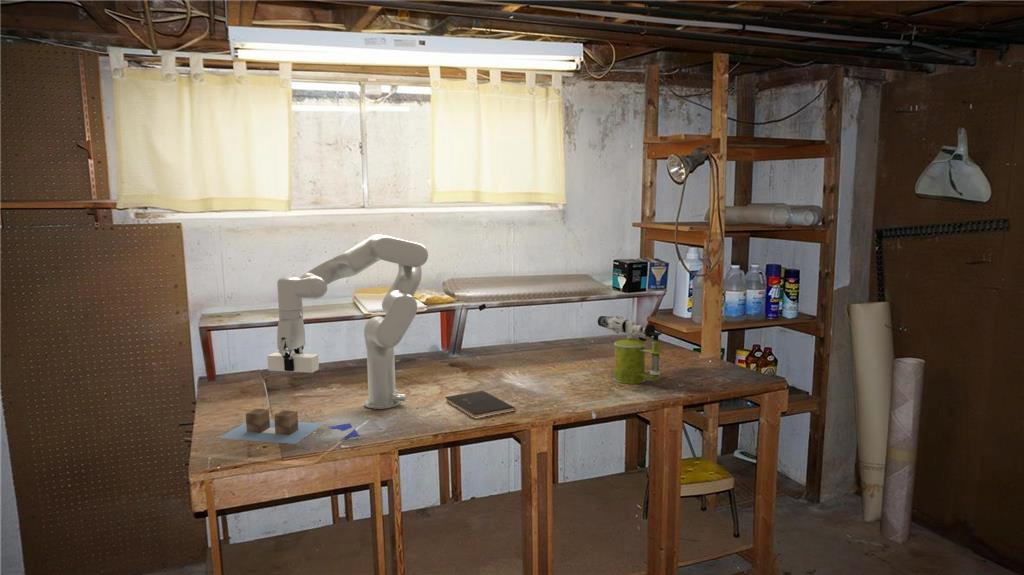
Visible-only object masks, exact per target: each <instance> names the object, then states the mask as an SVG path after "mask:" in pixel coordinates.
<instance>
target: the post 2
mask: <svg viewBox="0 0 1024 575" xmlns="http://www.w3.org/2000/svg"><path fill="white" fill-rule="evenodd" d="M298 414H299V413H298V411H297V410H285V409H283V410H281V411H279V412H278V413H276V414H274V420H275V434H282V435H291V434H292V433H294V432H295V431H297V430H298V422H299V416H298Z"/></svg>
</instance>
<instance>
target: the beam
mask: <svg viewBox="0 0 1024 575" xmlns="http://www.w3.org/2000/svg"><path fill="white" fill-rule="evenodd" d="M287 353H288V354H289V352H287ZM292 359H294V371H288V372H291V373H292V372H293V373H314V372H316V371H319V369H320V366H319V364H320V363H319V354H317V353H316V354H315V353H303V354H294V352H293V354H292ZM267 371H269V372H270V371H273V372H276V371H277V372H286V371H285V370H284V359H283V356H282V355H281V354H280V353H279V352H272V353H271V354H268V355H267Z"/></svg>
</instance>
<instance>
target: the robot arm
mask: <svg viewBox="0 0 1024 575" xmlns="http://www.w3.org/2000/svg"><path fill="white" fill-rule="evenodd" d="M428 259H429V252H428V250H427V248H426V246H424V245H423V244H422V243H418V242H414V241H410V240H406V239H405V240H404V239H401V238H396V237H393V236H390V235H386V234H385V235H384V234H373V235H372V236H370V237H367V238H366V239H365V240H363V241H361V242H360V243H358V244H357V245H354V246H353V247H352V248H349V249H348V250H346V251H344V252H343V253H341V254H338V255H336V256H334V257H333V258H331V259H329V260H326V261H324V262H323V263H320V264H318V265H317V266H315V267H313V268H312V269H310V270H308V271H307V272H305V273H304V274H302V275H301V276H300V277H297V276H284V277H281V278H279V279H278V280H277V282H276V283H277V284H276V285H277V300H278V301H277V303H278V323H277V333H276V335H277V336H276V338H277V339H276V341H277V342H276V344H277V345H276V346H277V350H278V353H280V354H281V355H282V356H283V359H284V370H285V371H284V372H289V371H294V359H292V354H293V353H294V354H304V352H303V350H304V347H305V345H306V332H305V324H304V310H303V299H307V300H308V299H311V300H314V299H315V300H317V299H321V298H323V297H324V296H325V294H326V293H327V291H328V285H330V284H331V283H333V282H335V281H338V280H341V279H346V278H351V277H354V276H356V275H358V274H360V273H361V272H363V271H364V270H366V269H368V268H369V267H371V266H372V265H374V264H375V263H376V264H377V262H380V260H381V261H385V262H387V263H388V262H389V263H393V264H397V265H398V272H397V275H396V277H395V279H394V281H393V283H392V284H391V286H390V287H389V289H388V291H387V293H386V295H385V296H384V297H383V300H382V303H381V308H382V310H383V313H385V316H373V317H371V318H370V319H368V320H367V322H366V324H365V326H364V329H363V331H364V332H363V333H364V334H363V335H364V336H363V337H364V342H365V348H366V366H367V385H368V386H367V388H368V389H367V390H368V398H367V399H366V400H364V406H365V407H366V408H368V409H372V408H373V410H374V409H375V410H383V409H385V410H386V409H390V408H395V407H397V406H399V405H400V404H401V402H406V401H407V395H406V394H400V393H399V390H398V389H396V371H395V369H396V367H395V361H396V360H395V351H394V350H395V349H394V347H396V346H397V345H398V344H400V342H402V340H403V338H404V337H405V335H406V333H407V331H408V330H409V328H410V326H411V325H412V322H413V321H414V319H415V318H416V314H417V312H418V303H417V301H416V300H417V299H415V297H414V296H415V294H416V292H417V290H418V288H419V287H420V283H421V280H422V274H423V272H422V270H423V269H422V267H423V265H425V264H426V263H427V261H428ZM288 353H289V354H288Z"/></svg>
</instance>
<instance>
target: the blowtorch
mask: <svg viewBox="0 0 1024 575" xmlns="http://www.w3.org/2000/svg"><path fill="white" fill-rule="evenodd" d="M597 324H598V326H599V327H602V328H604V329H608V330H610V331H613V332H614V333H616V334H620V333H624V334H625V333H626V334H627V337H626V338H625V339H620V340H617V341H614V344H613V345H614V376H613V378H612V379H613V381H614V380H615V381H614V382H616V381H618V382H617V383H619V382H621V383H620V384H624V383H629V385H637V384H638V385H639V384H644V383H645V382H646V379H650V380H651V381H654V382H656V381H658V380H660V378H661V371H660V354H664V350H660V349H659V348H660V343H661V341H659V336H661V335H662V334H663V333H662V332H658V331H656V327H655V325H654V324H651V323H650V324H647V325H646V327H645V326H644V325H642V324H638V325H637V324H636V322H635V321H632V320H630V319H627V318H625V317H623V316H621V315H616V316H606V315H600V316H598V318H597ZM635 332H637V333H639V334H640V335H641V337H640V336H639V337H638V339H636V338H635V339H634V336H633V334H635ZM646 337H648V338H652V339H653V340H652V341H651V344H652V349H646V345H647V344H646V341H647V339H646ZM646 352H647V353H649V354H651V370H649V373H647V372H646V370H645V368H646V367H645V366H646V365H645V364H646V362H645V361H646V360H645V359H646Z"/></svg>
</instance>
